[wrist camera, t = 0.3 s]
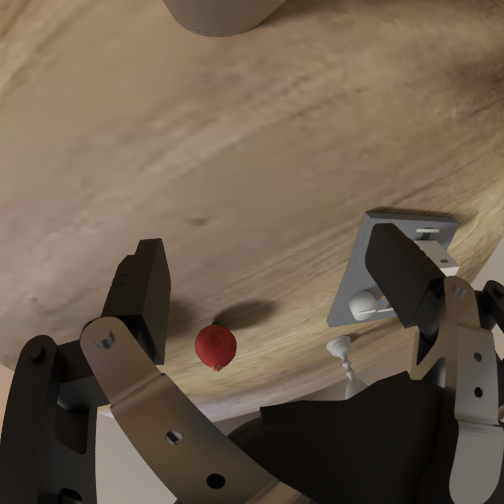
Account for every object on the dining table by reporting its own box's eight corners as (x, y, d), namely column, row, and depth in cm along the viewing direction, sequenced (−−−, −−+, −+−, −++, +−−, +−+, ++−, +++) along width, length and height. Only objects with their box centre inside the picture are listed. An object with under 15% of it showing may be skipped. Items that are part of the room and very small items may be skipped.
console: (365, 212, 31) (381, 230, 28) (453, 218, 33) (469, 232, 30) (326, 320, 43) (334, 339, 39) (407, 307, 45) (417, 323, 42)
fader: (414, 240, 32) (438, 268, 28) (436, 240, 33) (459, 266, 28) (408, 252, 34) (431, 281, 29) (431, 251, 34) (453, 277, 30)
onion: (240, 318, 39) (248, 365, 33) (223, 339, 42) (227, 383, 36) (204, 308, 37) (206, 358, 30) (189, 331, 39) (189, 377, 33)
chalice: (315, 354, 49) (341, 438, 35) (330, 333, 45) (364, 424, 31) (345, 352, 51) (374, 428, 37) (362, 331, 47) (397, 413, 33)
